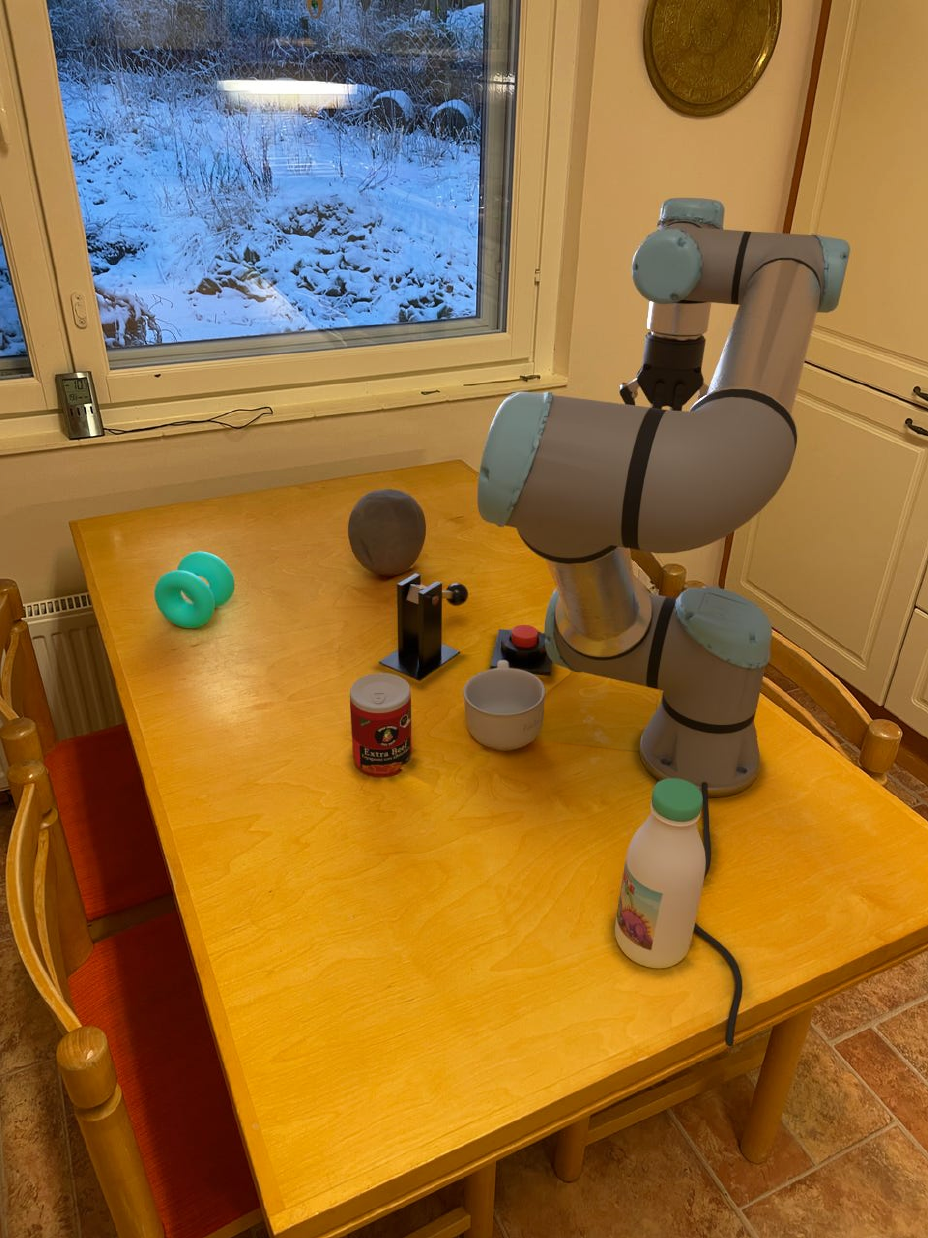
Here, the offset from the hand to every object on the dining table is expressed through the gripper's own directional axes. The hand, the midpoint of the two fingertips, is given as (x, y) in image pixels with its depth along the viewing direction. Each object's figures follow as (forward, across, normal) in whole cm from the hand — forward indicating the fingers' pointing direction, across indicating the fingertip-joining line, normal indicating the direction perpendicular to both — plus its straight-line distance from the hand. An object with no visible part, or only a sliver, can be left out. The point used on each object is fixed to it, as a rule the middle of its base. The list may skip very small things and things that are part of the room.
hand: (652, 506), depth 126 cm
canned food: (+27, +33, +28) cm, 51 cm away
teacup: (+27, +18, +20) cm, 38 cm away
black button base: (+26, +17, +1) cm, 31 cm away
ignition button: (+23, +17, +1) cm, 29 cm away
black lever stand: (+26, +32, +5) cm, 42 cm away
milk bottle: (+27, 0, +53) cm, 59 cm away
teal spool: (+27, +70, -4) cm, 75 cm away
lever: (+18, +30, +1) cm, 35 cm away
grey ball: (+27, +43, -25) cm, 56 cm away
